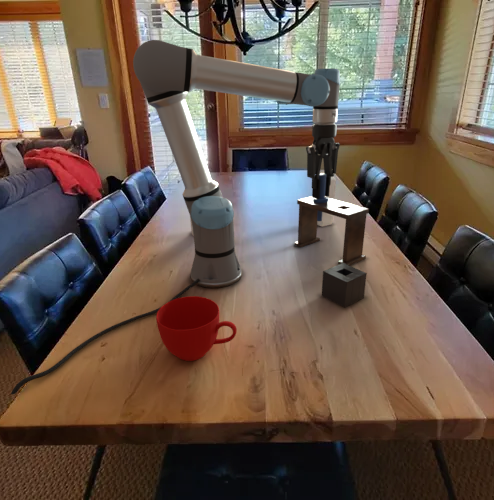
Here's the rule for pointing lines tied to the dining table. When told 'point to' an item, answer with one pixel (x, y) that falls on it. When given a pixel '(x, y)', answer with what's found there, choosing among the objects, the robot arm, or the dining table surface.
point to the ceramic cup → (191, 326)
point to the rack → (340, 209)
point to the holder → (343, 284)
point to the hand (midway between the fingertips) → (320, 196)
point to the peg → (321, 194)
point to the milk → (328, 218)
